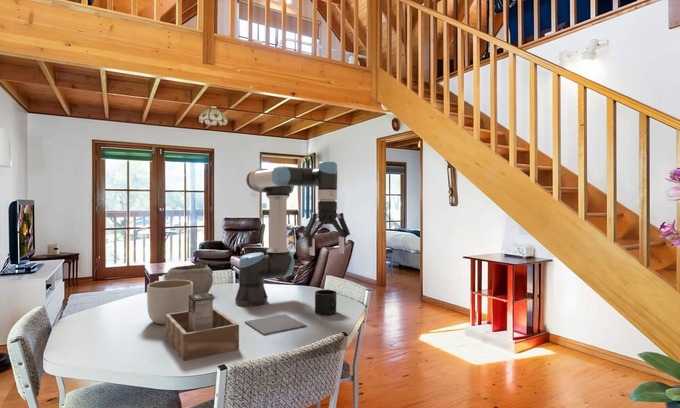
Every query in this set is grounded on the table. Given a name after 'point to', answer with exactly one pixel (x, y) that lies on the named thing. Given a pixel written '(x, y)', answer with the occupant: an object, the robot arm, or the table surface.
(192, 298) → the coffee box
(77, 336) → the table surface
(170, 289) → the planter
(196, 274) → the bowl
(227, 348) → the crate
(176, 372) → the table surface
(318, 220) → the robot arm
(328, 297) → the mug
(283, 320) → the mat
